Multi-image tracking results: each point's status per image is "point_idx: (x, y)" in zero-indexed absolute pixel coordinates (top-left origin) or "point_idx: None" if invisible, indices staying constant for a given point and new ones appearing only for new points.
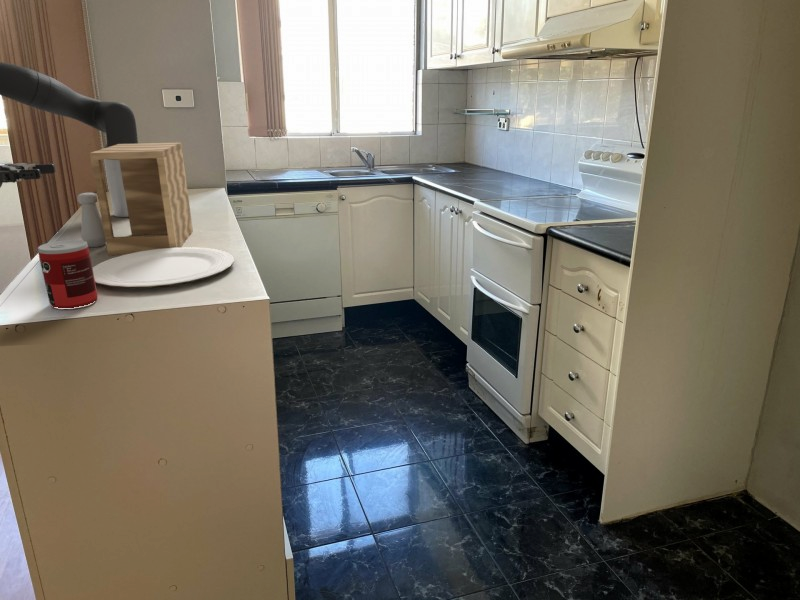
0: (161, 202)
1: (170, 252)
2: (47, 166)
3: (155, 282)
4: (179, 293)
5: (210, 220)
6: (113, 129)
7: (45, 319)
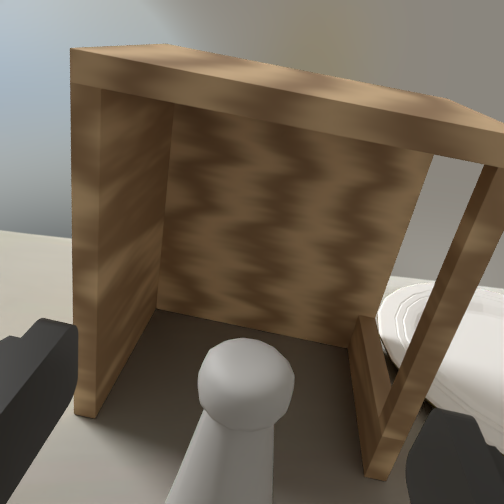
0: (143, 256)
1: None
2: (46, 376)
3: None
4: None
5: (28, 258)
6: None
7: None
